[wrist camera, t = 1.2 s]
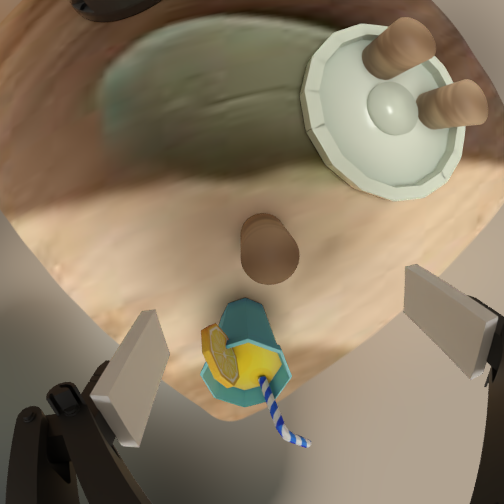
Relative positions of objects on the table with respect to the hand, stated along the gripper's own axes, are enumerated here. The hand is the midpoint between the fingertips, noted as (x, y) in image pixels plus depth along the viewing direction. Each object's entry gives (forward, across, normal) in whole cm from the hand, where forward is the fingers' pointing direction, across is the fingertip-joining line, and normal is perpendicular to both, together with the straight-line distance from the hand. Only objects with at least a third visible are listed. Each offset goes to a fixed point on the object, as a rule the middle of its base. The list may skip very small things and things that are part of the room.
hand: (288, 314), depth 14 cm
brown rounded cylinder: (+16, +16, +18) cm, 29 cm away
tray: (+17, +16, +12) cm, 27 cm away
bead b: (+16, +22, +12) cm, 30 cm away
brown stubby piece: (+17, 0, 0) cm, 17 cm away
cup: (+18, -3, -10) cm, 20 cm away
